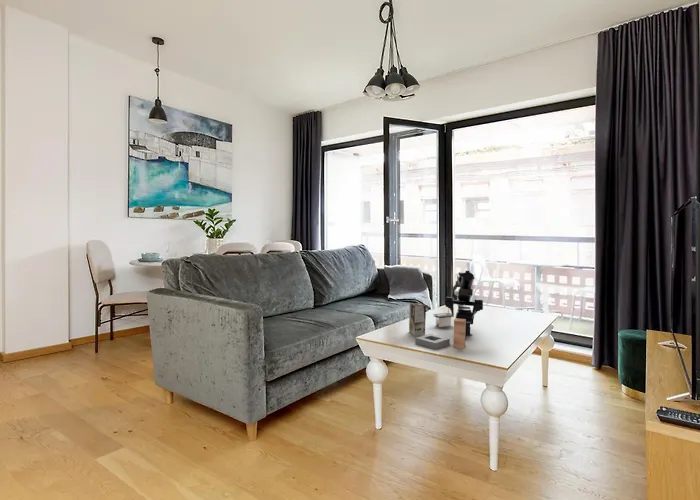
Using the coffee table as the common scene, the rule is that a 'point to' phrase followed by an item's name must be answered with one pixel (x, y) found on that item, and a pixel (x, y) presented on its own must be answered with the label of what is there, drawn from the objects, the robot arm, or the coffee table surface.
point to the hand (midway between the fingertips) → (462, 317)
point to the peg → (459, 333)
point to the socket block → (432, 341)
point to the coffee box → (417, 319)
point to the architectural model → (443, 319)
